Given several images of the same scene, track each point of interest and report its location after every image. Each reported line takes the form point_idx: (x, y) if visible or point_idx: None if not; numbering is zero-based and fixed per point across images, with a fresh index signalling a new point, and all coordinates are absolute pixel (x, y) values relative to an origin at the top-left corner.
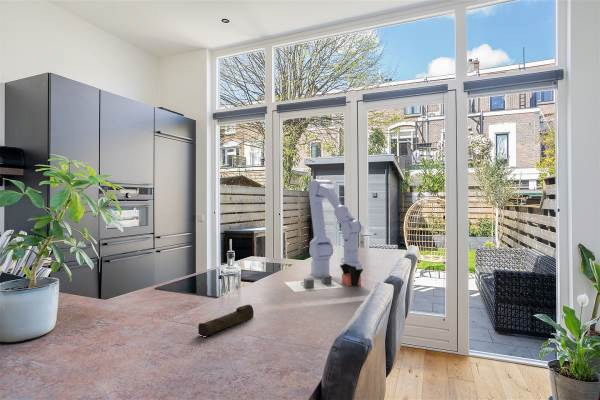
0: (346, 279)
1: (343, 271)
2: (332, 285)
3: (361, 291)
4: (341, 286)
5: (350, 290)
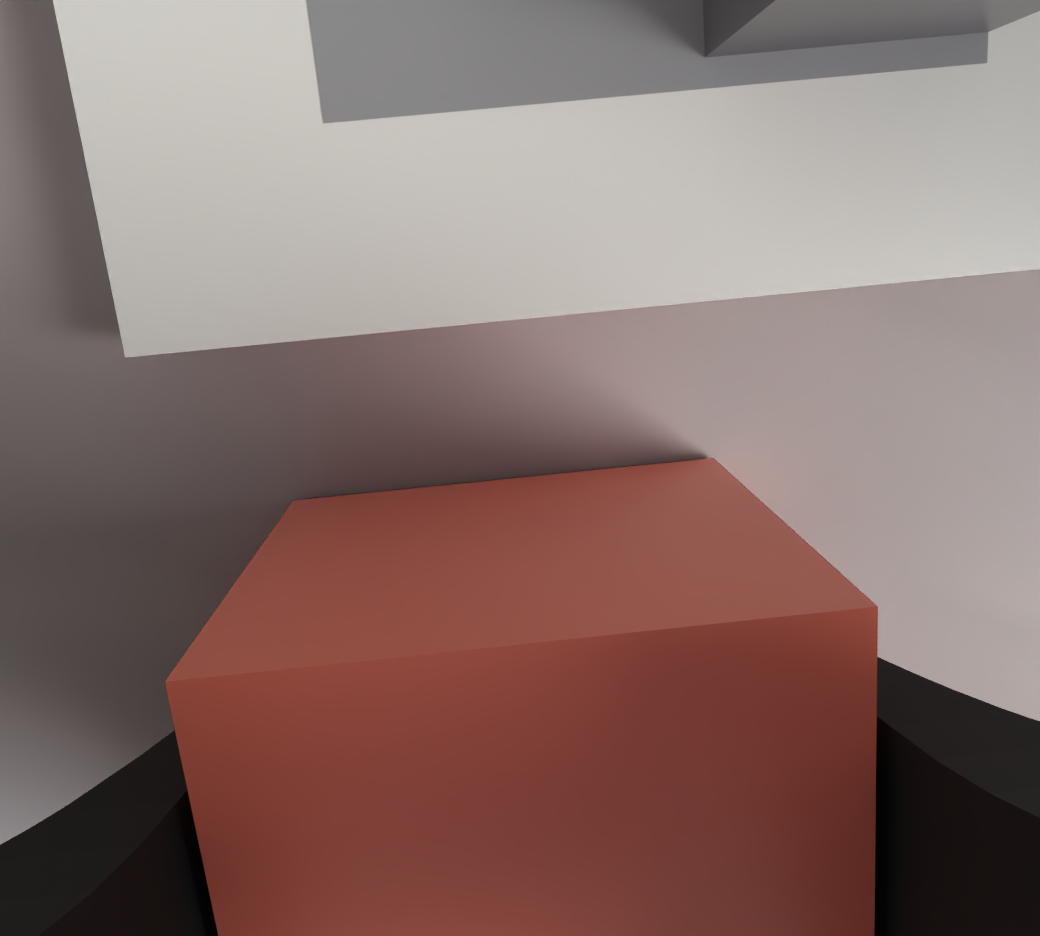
0: (349, 599)
1: (998, 761)
2: (437, 1)
3: (75, 790)
4: (234, 299)
5: (220, 548)
